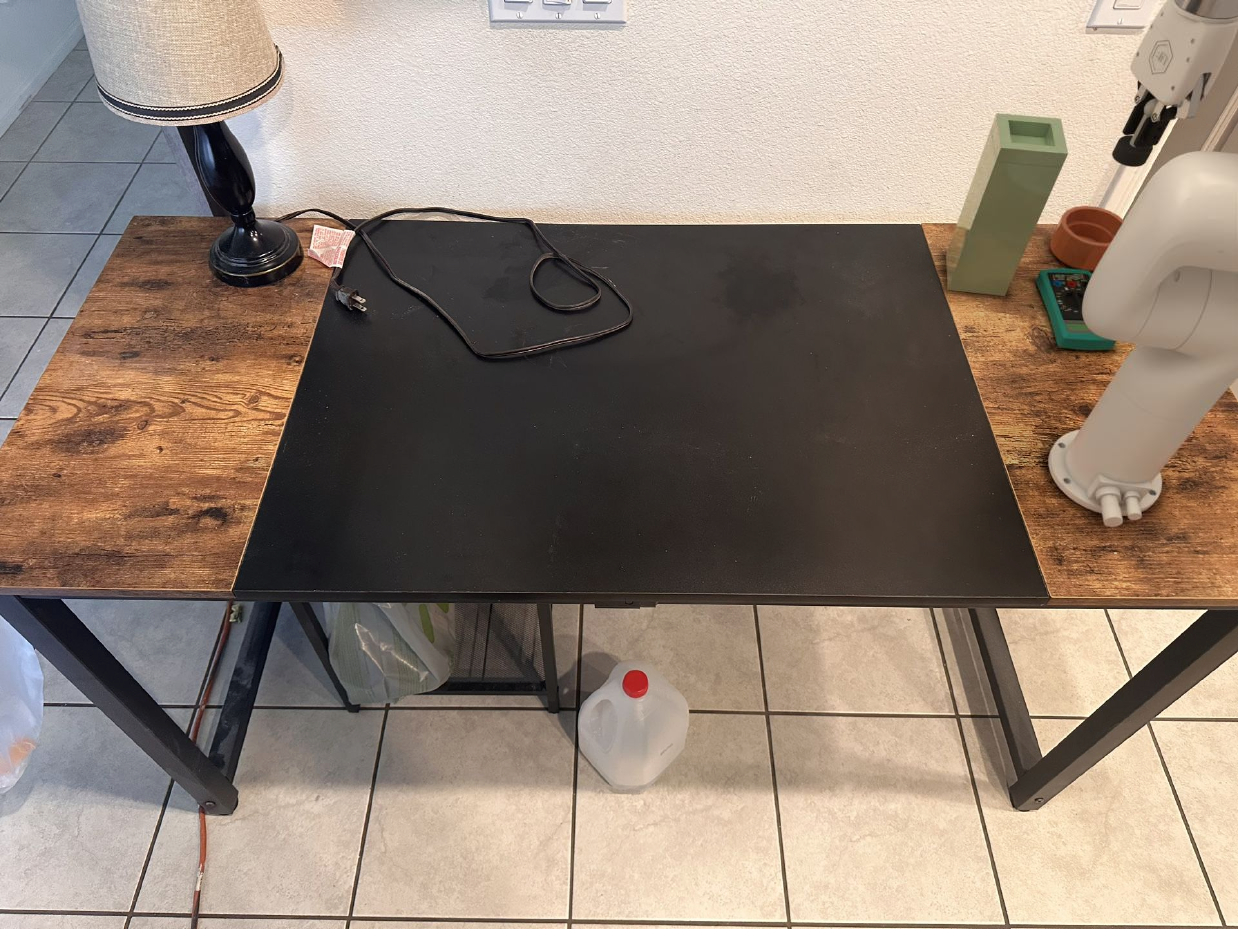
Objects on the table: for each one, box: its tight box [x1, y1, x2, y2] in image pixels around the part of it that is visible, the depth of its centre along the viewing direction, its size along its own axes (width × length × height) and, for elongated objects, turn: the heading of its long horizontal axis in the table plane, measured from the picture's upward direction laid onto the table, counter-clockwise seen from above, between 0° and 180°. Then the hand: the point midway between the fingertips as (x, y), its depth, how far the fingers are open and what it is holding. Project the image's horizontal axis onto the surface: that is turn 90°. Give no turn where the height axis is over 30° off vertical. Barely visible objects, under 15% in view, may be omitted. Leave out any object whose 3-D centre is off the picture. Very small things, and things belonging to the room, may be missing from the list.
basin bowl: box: [1049, 205, 1125, 272], centre depth 127 cm, size 9×10×5 cm
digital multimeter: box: [1035, 267, 1118, 351], centre depth 120 cm, size 7×15×3 cm, turn 176°
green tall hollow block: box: [945, 112, 1069, 297], centre depth 117 cm, size 8×8×23 cm
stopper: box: [1111, 99, 1159, 168], centre depth 113 cm, size 4×4×8 cm
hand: (1139, 138), depth 114 cm, fingers closed on stopper, 2 cm apart
